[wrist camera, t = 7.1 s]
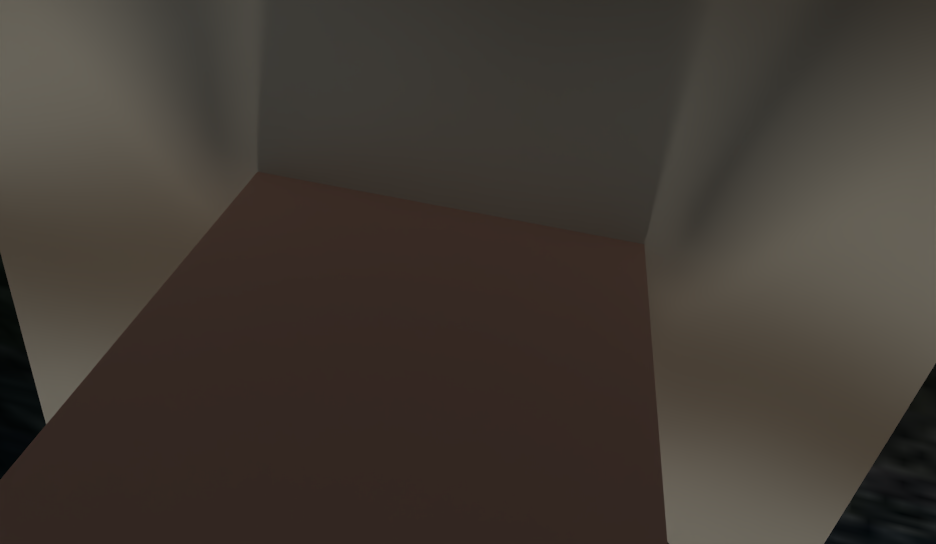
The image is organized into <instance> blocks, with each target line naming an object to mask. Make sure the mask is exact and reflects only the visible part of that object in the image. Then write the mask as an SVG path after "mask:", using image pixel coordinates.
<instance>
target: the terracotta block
mask: <svg viewBox="0 0 936 544" xmlns="http://www.w3.org/2000/svg"><path fill="white" fill-rule="evenodd" d="M0 544H667V531H666V518H665V505H664V492H663V479H662V466H661V453H660V440H659V428H658V415H657V402H656V389H655V376H654V363H653V350H652V337H651V324H650V312H649V299H648V286H647V273H646V260H645V247H644V244H640V243H635V242H629V241H624V240H619V239H613V238H608V237H603V236H597V235H592V234H587V233H581V232H576V231H571V230H565V229H560V228H555V227H549V226H544V225H539V224H533V223H528V222H523V221H517V220H512V219H507V218H502V217H496V216H491V215H486V214H480V213H475V212H470V211H464V210H459V209H454V208H448V207H443V206H438V205H432V204H427V203H422V202H416V201H411V200H406V199H400V198H395V197H390V196H384V195H379V194H374V193H368V192H363V191H358V190H352V189H347V188H342V187H336V186H331V185H326V184H320V183H315V182H310V181H304V180H299V179H294V178H289V177H283V176H278V175H273V174H267V173H262V172H257V173H256V174H255V175H254V176H253V178H252V179H251V180H250V181H249V182H248V184H247V185H246V186H245V187H244V188H243V190H242V191H241V192H240V193H239V194H238V196H237V197H236V198H235V199H234V200H233V202H232V203H231V204H230V205H229V206H228V208H227V209H226V210H225V211H224V212H223V214H222V215H221V216H220V217H219V218H218V220H217V221H216V222H215V223H214V224H213V226H212V227H211V228H210V229H209V230H208V232H207V233H206V234H205V235H204V236H203V238H202V239H201V240H200V241H199V242H198V244H197V245H196V246H195V247H194V248H193V250H192V251H191V252H190V253H189V254H188V255H187V257H186V258H185V259H184V260H183V261H182V263H181V264H180V265H179V266H178V267H177V269H176V270H175V271H174V272H173V273H172V275H171V276H170V277H169V278H168V279H167V281H166V282H165V283H164V284H163V285H162V287H161V288H160V289H159V290H158V291H157V293H156V294H155V295H154V296H153V297H152V299H151V300H150V301H149V302H148V303H147V305H146V306H145V307H144V308H143V309H142V311H141V312H140V313H139V314H138V315H137V317H136V318H135V319H134V320H133V321H132V323H131V324H130V325H129V326H128V327H127V329H126V330H125V331H124V332H123V333H122V335H121V336H120V337H119V338H118V339H117V341H116V342H115V343H114V344H113V345H112V346H111V348H110V349H109V350H108V351H107V352H106V354H105V355H104V356H103V357H102V358H101V360H100V361H99V362H98V363H97V364H96V366H95V367H94V368H93V369H92V370H91V372H90V373H89V374H88V375H87V376H86V378H85V379H84V380H83V381H82V382H81V384H80V385H79V386H78V387H77V388H76V390H75V391H74V392H73V393H72V394H71V396H70V397H69V398H68V399H67V400H66V402H65V403H64V404H63V405H62V406H61V408H60V409H59V410H58V411H57V412H56V414H55V415H54V416H53V417H52V418H51V420H50V421H49V422H48V423H47V424H46V426H45V427H44V428H43V429H42V430H41V432H40V433H39V434H38V435H37V436H36V438H35V439H34V440H33V441H32V442H31V443H30V445H29V446H28V447H27V448H26V449H25V451H24V452H23V453H22V454H21V455H20V457H19V458H18V459H17V460H16V461H15V463H14V464H13V465H12V466H11V467H10V469H9V470H8V471H7V472H6V473H5V475H4V476H3V477H2V478H1V479H0Z"/></svg>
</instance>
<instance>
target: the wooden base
mask: <svg viewBox="0 0 936 544" xmlns="http://www.w3.org/2000/svg"><path fill="white" fill-rule="evenodd" d="M257 172H262V173H267V174H273V175H278V176H283V177H289V178H294V179H299V180H304V181H310V182H315V183H320V184H326V185H331V186H336V187H342V188H347V189H352V190H358V191H363V192H368V193H374V194H379V195H384V196H390V197H395V198H400V199H406V200H411V201H416V202H422V203H427V204H432V205H438V206H443V207H448V208H454V209H459V210H464V211H470V212H475V213H480V214H486V215H491V216H496V217H502V218H507V219H512V220H517V221H523V222H528V223H533V224H539V225H544V226H549V227H555V228H560V229H565V230H571V231H576V232H581V233H587V234H592V235H597V236H603V237H608V238H613V239H619V240H624V241H629V242H635V243H640V244H644V247H645V260H646V273H647V286H648V299H649V312H650V324H651V337H652V350H653V363H654V376H655V389H656V402H657V415H658V428H659V440H660V453H661V466H662V479H663V492H664V505H665V518H666V531H667V542H668V543H669V544H824V543H825V541H826V540H827V538H828V536H829V535H830V533H831V531H832V530H833V528H834V527H835V525H836V523H837V522H838V520H839V518H840V517H841V515H842V514H843V512H844V510H845V509H846V507H847V506H848V504H849V502H850V501H851V499H852V497H853V496H854V494H855V493H856V491H857V489H858V488H859V486H860V485H861V483H862V481H863V480H864V478H865V476H866V475H867V473H868V472H869V470H870V468H871V467H872V465H873V464H874V462H875V460H876V459H877V457H878V455H879V454H880V452H881V451H882V449H883V447H884V446H885V444H886V443H887V441H888V439H889V438H890V436H891V434H892V433H893V431H894V430H895V428H896V426H897V425H898V423H899V421H900V420H901V418H902V417H903V415H904V413H905V412H906V410H907V409H908V407H909V405H910V404H911V402H912V400H913V399H914V397H915V396H916V394H917V392H918V391H919V389H920V388H921V386H922V384H923V383H924V381H925V379H926V378H927V376H928V375H929V373H930V371H931V370H932V368H933V367H934V365H935V363H936V0H0V253H1V257H2V261H3V264H4V268H5V272H6V276H7V279H8V283H9V287H10V291H11V294H12V298H13V302H14V306H15V309H16V313H17V317H18V321H19V324H20V328H21V332H22V336H23V339H24V343H25V347H26V351H27V354H28V358H29V362H30V366H31V369H32V373H33V377H34V381H35V384H36V388H37V392H38V396H39V400H40V403H41V407H42V411H43V415H44V418H45V422H46V424H47V423H48V422H49V421H50V420H51V418H52V417H53V416H54V415H55V414H56V412H57V411H58V410H59V409H60V408H61V406H62V405H63V404H64V403H65V402H66V400H67V399H68V398H69V397H70V396H71V394H72V393H73V392H74V391H75V390H76V388H77V387H78V386H79V385H80V384H81V382H82V381H83V380H84V379H85V378H86V376H87V375H88V374H89V373H90V372H91V370H92V369H93V368H94V367H95V366H96V364H97V363H98V362H99V361H100V360H101V358H102V357H103V356H104V355H105V354H106V352H107V351H108V350H109V349H110V348H111V346H112V345H113V344H114V343H115V342H116V341H117V339H118V338H119V337H120V336H121V335H122V333H123V332H124V331H125V330H126V329H127V327H128V326H129V325H130V324H131V323H132V321H133V320H134V319H135V318H136V317H137V315H138V314H139V313H140V312H141V311H142V309H143V308H144V307H145V306H146V305H147V303H148V302H149V301H150V300H151V299H152V297H153V296H154V295H155V294H156V293H157V291H158V290H159V289H160V288H161V287H162V285H163V284H164V283H165V282H166V281H167V279H168V278H169V277H170V276H171V275H172V273H173V272H174V271H175V270H176V269H177V267H178V266H179V265H180V264H181V263H182V261H183V260H184V259H185V258H186V257H187V255H188V254H189V253H190V252H191V251H192V250H193V248H194V247H195V246H196V245H197V244H198V242H199V241H200V240H201V239H202V238H203V236H204V235H205V234H206V233H207V232H208V230H209V229H210V228H211V227H212V226H213V224H214V223H215V222H216V221H217V220H218V218H219V217H220V216H221V215H222V214H223V212H224V211H225V210H226V209H227V208H228V206H229V205H230V204H231V203H232V202H233V200H234V199H235V198H236V197H237V196H238V194H239V193H240V192H241V191H242V190H243V188H244V187H245V186H246V185H247V184H248V182H249V181H250V180H251V179H252V178H253V176H254V175H255V174H256V173H257Z"/></svg>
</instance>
